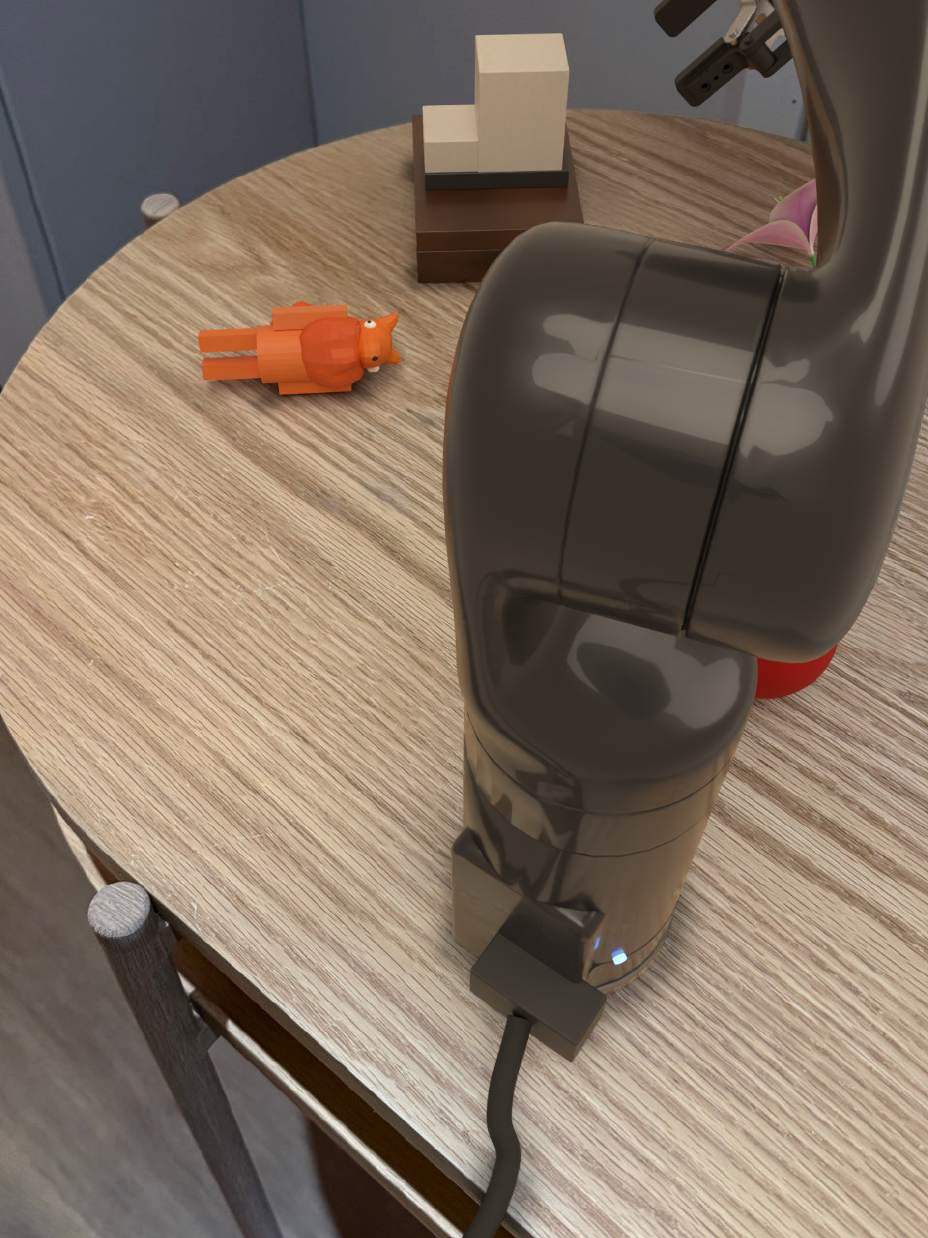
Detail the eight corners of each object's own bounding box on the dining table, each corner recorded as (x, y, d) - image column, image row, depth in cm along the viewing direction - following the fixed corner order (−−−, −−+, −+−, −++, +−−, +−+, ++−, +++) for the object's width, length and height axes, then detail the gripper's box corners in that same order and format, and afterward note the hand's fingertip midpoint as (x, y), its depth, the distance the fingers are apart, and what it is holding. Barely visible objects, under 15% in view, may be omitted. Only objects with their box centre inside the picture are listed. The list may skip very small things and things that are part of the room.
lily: (866, 248, 81) (839, 112, 76) (938, 292, 71) (912, 138, 66) (705, 313, 83) (668, 183, 78) (753, 365, 73) (714, 220, 68)
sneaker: (561, 146, 80) (570, 31, 73) (568, 186, 77) (578, 70, 71) (423, 150, 80) (420, 34, 73) (425, 190, 77) (422, 74, 70)
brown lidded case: (560, 161, 86) (564, 110, 83) (580, 278, 78) (585, 227, 74) (413, 164, 86) (411, 114, 82) (417, 283, 77) (415, 232, 74)
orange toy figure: (189, 330, 66) (399, 321, 66) (204, 287, 72) (396, 278, 72) (202, 412, 68) (403, 402, 69) (216, 363, 75) (400, 354, 75)
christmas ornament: (723, 590, 62) (762, 460, 54) (843, 656, 59) (903, 530, 51) (653, 677, 58) (684, 552, 50) (777, 751, 56) (830, 632, 48)
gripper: (975, -40, 62) (725, 160, 71) (902, -148, 70) (687, 43, 79) (909, -149, 58) (651, 78, 66) (840, -251, 66) (620, -36, 75)
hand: (671, 59), depth 73 cm, fingers open, 8 cm apart
